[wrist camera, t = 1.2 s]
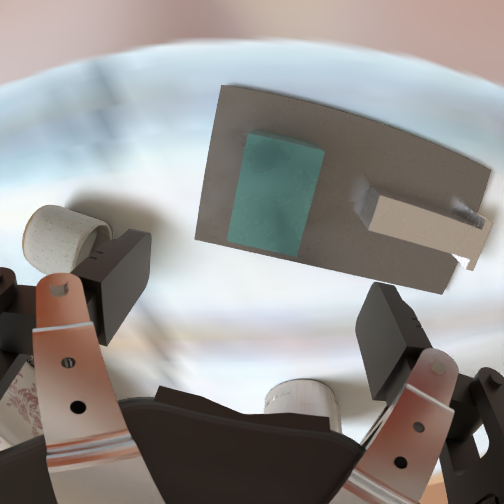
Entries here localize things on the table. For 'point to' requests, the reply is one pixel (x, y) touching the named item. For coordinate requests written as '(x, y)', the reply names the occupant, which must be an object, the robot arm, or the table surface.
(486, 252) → the table surface
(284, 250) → the block
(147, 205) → the table surface
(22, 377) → the chamber pot
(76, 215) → the ceramic mug
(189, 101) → the table surface
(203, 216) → the base
